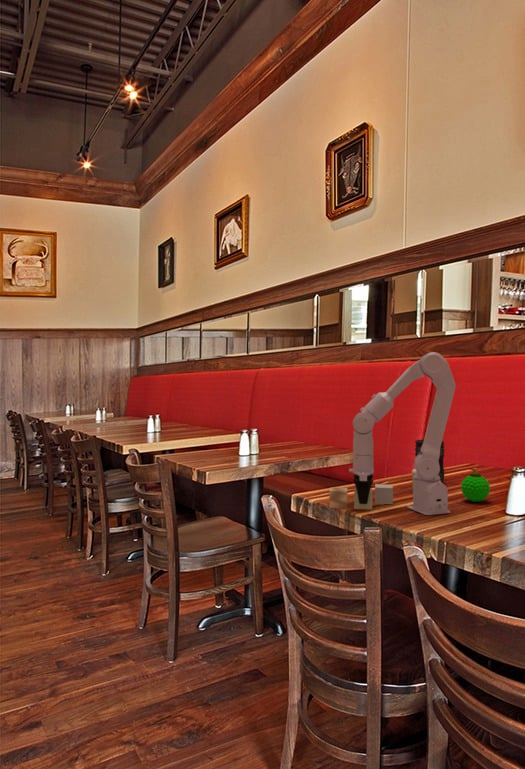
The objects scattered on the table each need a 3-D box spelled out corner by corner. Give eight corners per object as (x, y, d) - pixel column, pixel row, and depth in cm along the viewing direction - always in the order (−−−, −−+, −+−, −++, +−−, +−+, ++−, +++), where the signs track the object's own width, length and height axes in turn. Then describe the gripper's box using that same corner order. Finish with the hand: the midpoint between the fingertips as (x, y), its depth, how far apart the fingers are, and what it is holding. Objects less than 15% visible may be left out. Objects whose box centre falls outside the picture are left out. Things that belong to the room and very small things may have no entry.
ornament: (495, 504, 159) (495, 470, 159) (471, 505, 157) (471, 471, 157) (479, 498, 167) (479, 465, 167) (455, 499, 165) (455, 466, 165)
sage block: (371, 505, 158) (371, 488, 158) (372, 509, 153) (372, 491, 153) (354, 504, 159) (354, 487, 159) (354, 508, 154) (354, 491, 154)
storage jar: (414, 485, 187) (414, 442, 187) (415, 480, 196) (415, 439, 196) (445, 487, 184) (445, 443, 184) (444, 481, 193) (444, 440, 193)
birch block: (347, 505, 159) (347, 488, 159) (347, 509, 154) (347, 491, 154) (330, 504, 160) (330, 487, 160) (329, 508, 155) (329, 490, 155)
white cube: (391, 501, 164) (391, 484, 164) (392, 505, 159) (392, 488, 159) (375, 500, 164) (375, 484, 164) (375, 504, 160) (375, 487, 159)
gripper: (349, 450, 163) (349, 495, 164) (348, 457, 149) (348, 506, 149) (373, 451, 162) (373, 496, 162) (374, 458, 148) (374, 507, 148)
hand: (363, 501), depth 156 cm, fingers closed on sage block, 5 cm apart
